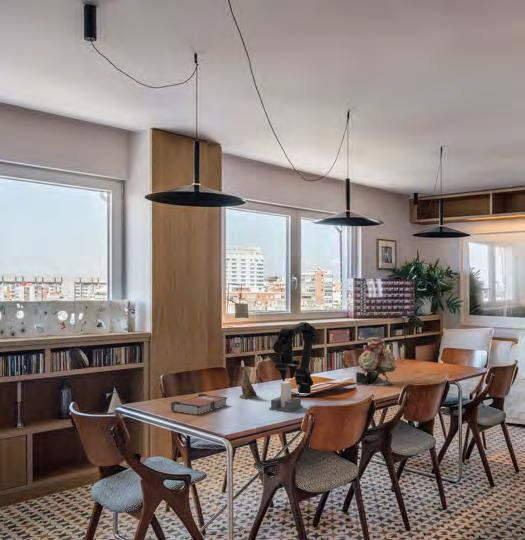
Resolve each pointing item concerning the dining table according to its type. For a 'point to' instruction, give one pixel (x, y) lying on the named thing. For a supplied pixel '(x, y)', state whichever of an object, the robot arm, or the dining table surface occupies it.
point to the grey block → (285, 392)
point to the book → (199, 404)
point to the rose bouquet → (375, 363)
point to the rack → (286, 404)
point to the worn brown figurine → (247, 387)
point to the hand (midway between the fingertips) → (287, 379)
